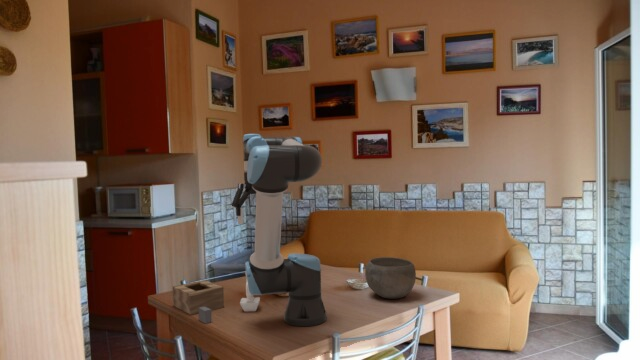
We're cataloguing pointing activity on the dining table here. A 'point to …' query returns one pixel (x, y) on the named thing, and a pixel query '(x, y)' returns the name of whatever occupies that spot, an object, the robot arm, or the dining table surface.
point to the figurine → (249, 300)
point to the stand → (205, 314)
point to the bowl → (390, 276)
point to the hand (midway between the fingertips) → (254, 222)
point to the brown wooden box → (198, 296)
